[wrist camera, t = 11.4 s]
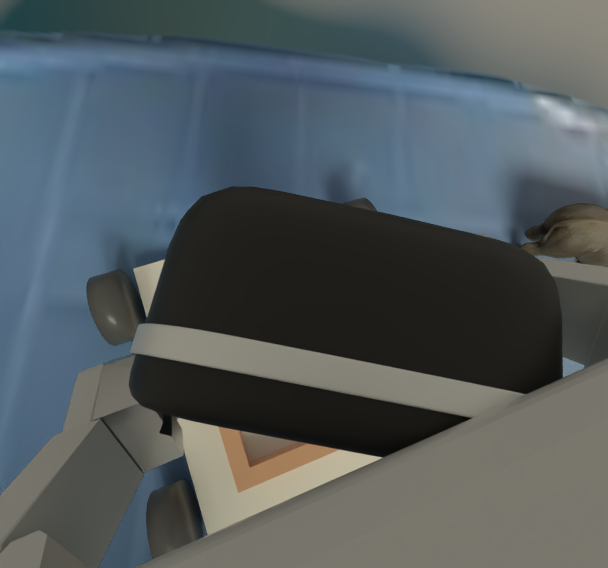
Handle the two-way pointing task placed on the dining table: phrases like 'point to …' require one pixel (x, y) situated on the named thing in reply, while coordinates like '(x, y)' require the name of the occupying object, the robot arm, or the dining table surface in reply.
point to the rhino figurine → (572, 235)
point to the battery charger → (340, 323)
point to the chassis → (214, 439)
